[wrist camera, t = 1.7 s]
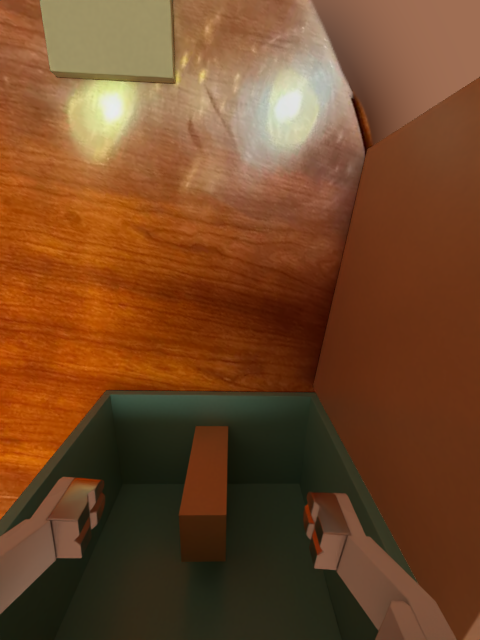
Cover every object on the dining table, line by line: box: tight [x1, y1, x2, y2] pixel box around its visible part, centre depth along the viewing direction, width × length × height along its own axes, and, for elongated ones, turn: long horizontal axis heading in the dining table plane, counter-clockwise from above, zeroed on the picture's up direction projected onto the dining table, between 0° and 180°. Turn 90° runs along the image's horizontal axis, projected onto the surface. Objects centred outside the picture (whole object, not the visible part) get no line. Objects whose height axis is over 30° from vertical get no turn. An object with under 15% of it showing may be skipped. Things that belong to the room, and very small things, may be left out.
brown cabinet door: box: [313, 77, 480, 640], centre depth 20 cm, size 7×28×24 cm, turn 173°
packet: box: [179, 426, 228, 562], centre depth 31 cm, size 4×6×12 cm
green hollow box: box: [0, 390, 418, 640], centre depth 26 cm, size 16×28×24 cm, turn 88°
